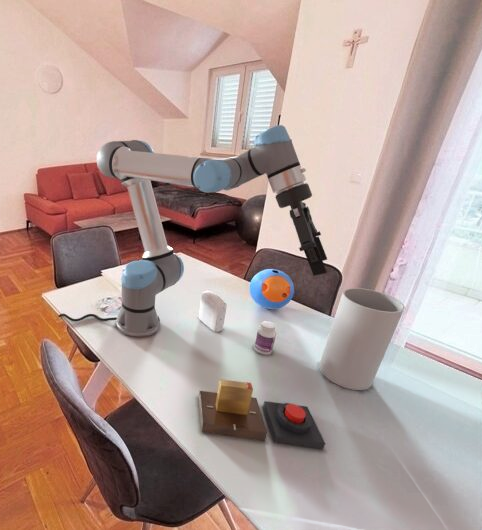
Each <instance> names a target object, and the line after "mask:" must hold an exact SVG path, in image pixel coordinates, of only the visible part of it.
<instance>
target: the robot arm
mask: <svg viewBox="0 0 482 530" xmlns="http://www.w3.org/2000/svg"><path fill="white" fill-rule="evenodd" d="M96 167H97V168H98V170H99V171H100V173H101V174H102V175H103V176H105V177H107V178H110V179H119V180H120V183H121V185H122V186H124V187H125V188H126V189H127V192H128V196H129V199H130V203H131V206H132V210H133V215H134V218H135V221H136V225H137V229H138V233H139V235H140V239H141V243H142V246H143V247H142V248H143V250H144V252H143V254H142V256H141V258H142V259H139V260H132V261H130V262H128V263H127V264H126V265H125V266H124V267H123V268H122V272H121V279H120V280H121V306H120V309H119V312H118V314H117V317H107V318H106V317H105V318H103V317H100V316H99V315H98V314H95V313H87V314H85V315H83V316H81V317H79V318H72V317H70V316H69V315H68V314H66V313H60V314H58V316H57V317H58V318H61V317H64V318H66V319H67V320H69V321H71V322H80V321H83V320H85V319H86V318H88V317H90V318H91V317H94V318H95V319H97V320H98V321H101V322H108V321H116V323H115V324H116V328H117V330H118V331H119V332H120V333H121V334H123V335H125V336H128V337H131V338H146V337H150V336H153V335H154V334H156V333H157V332H158V330H159V326H160V321H161V319H160V316H159V315H158V314H157V310H156V296H157V295H158V294H160V293H161V292H163V291H165V290H166V289H168V288H170V287H173V286H175V285H176V284H177V283H178V282H180V280H181V279H182V277H183V276H184V271H185V266H184V261H183V260H182V258H181V257H180V256H179V255H178V254H176V253H175V251H174V248H173V247H171V246H170V245H168V241H167V238H166V235H165V231H164V227H163V224H162V219H161V216H160V213H159V208H158V203H157V200H156V197H155V193H154V189H153V186H152V181H154V182H160V183H167V184H173V185H177V186H178V185H179V186H186V187H192V188H196V189H198V190H199V191H201V192H203V193H208V194H209V193H218V192H221V191H223V190H224V191H230V190H233V189H236V188H239V187H240V186H242V185H244V184H246V183H248V182H250V181H252V180H254V179H256V178H259V177H261V176H263V175H265V174H266V177H267V181H268V183H269V186H270V188H271V191H272V193H273V194H275V196H274V197H275V201H276V203H277V205H278V207H279V208H280V209H284V208H286V207H290V210H289V217H290V219H291V220H292V224H293V225H294V229H295V231H296V235H297V239H298V241H299V244H300V247H298V249H299V251H300V252H304V255H305V257H306V260H307V263H308V265H309V268H310V270H311V273H312V275H313V277H314V276H320V275H324V274H327V273H328V271H327V268H326V266H325V262H324V261H327V260H328V257H327V253H326V252H325V248H324V246H323V244H322V241H321V238H320V236H322V233H321V231H318V229H317V228H316V226H315V224H314V221H313V218H312V217H313V216H312V215H311V211H310V208H309V206H307V204H306V202H303V201H306V200H308V199H310V198H312V197H313V193H312V190H311V187H310V186H309V183H308V182H305V181H306V180H307V178H306V175H305V174H304V173H305V172H306V171H307V169H306V168H305V167H303V168H302V166H301V163H300V161H299V157H298V155H297V153H296V149H295V146H294V144H293V140H292V138H291V137H290V135H289V132H288V130H287V129H286V127H285V126H284V125H283V124H277V125H274V126H272V127H269V128H267V129H265V130H263V131H262V132H260V133H259V134H256V135H255V136H254V137H253V147H251V148H250V149H248V150H246V151H244V152H242V153H240V154H238V155H236V156H231V157H223V158H212V157H201V156H189V155H180V154H167V153H159V152H155V151H154V149H153V148H152V146H151V145H150V144H149V143H147V142H146V141H143V140H138V139H131V140H113V141H108V142H106V143H104V144H103V145H102V146H101V147H100V148H99V150H98V152H97V154H96Z"/></svg>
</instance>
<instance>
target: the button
mask: <svg viewBox="0 0 482 530" xmlns="http://www.w3.org/2000/svg"><path fill="white" fill-rule="evenodd" d="M298 405H299V404H298ZM298 405H297V404H295V403H290V404H288V405H287V406H286V409H285V416H286V418H287V419H289V420H290V421H292V422H294V423H298V424H300V423H303V422H304V419H305V416H306V413H305V411H304V410H303V409H302V408H301V407H300V406H301V405H299V406H298Z"/></svg>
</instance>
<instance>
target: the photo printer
mask: <svg viewBox="0 0 482 530" xmlns="http://www.w3.org/2000/svg"><path fill="white" fill-rule="evenodd" d="M227 308H228V304H227V302H226V301H225V299H223V298H222V297H221V296H220V295H219V294H217V293H216V292H214V291H210V290H204V291H203V292H202V293H201V296H200V303H199V310H198V319H199V320H200V322H202V323H203V324H205V326H207V327H208V328H209V329H210V330H211V331H213V332H216V333H217V332H221V331H222V330H223V329H224V324H225V319H226V314H227Z"/></svg>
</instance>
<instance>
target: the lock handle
mask: <svg viewBox="0 0 482 530" xmlns="http://www.w3.org/2000/svg"><path fill="white" fill-rule="evenodd" d="M253 392H254V388H253V385H252V383H251V382H249V381H246V382H245V381H236V380H228V379H219V382H218V388H217V392H216V393H217V399H216V404H215V405H216V411H221V412H228V413H236V414H243V415H247V413H248V409H249V405H250V401H251V397H253Z"/></svg>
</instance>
